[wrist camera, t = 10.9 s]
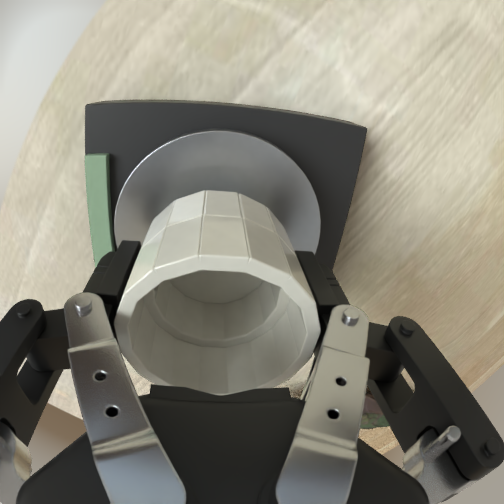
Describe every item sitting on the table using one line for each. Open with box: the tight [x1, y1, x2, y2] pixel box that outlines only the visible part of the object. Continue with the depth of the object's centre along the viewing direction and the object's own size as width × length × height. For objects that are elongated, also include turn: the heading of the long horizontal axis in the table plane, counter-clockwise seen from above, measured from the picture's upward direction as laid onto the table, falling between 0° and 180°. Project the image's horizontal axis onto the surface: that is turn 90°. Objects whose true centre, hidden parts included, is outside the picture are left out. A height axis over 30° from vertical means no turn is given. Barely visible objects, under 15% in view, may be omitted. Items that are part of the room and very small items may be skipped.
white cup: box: [114, 190, 321, 396], centre depth 11 cm, size 6×6×5 cm
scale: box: [85, 100, 367, 270], centre depth 17 cm, size 14×12×3 cm
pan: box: [114, 129, 321, 255], centre depth 15 cm, size 10×10×1 cm
